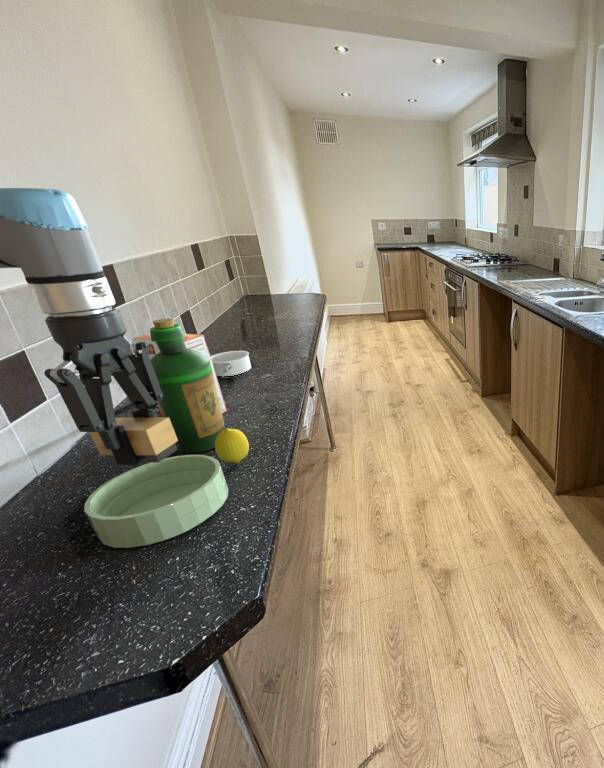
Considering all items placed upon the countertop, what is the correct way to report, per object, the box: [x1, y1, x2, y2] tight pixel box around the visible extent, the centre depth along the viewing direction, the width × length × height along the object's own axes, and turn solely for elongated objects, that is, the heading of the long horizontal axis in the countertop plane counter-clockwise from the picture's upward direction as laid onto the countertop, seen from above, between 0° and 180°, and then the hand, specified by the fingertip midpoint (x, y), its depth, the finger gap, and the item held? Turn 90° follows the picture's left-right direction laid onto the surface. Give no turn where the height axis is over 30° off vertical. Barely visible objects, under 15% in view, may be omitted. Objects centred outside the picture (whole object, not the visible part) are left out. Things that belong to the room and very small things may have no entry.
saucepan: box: [210, 350, 252, 378], centre depth 127 cm, size 12×20×6 cm, turn 29°
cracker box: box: [131, 332, 228, 417], centre depth 100 cm, size 14×6×21 cm, turn 81°
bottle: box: [149, 318, 226, 454], centre depth 85 cm, size 11×11×28 cm
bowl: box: [83, 454, 229, 549], centre depth 69 cm, size 17×17×6 cm
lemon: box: [214, 427, 250, 464], centre depth 82 cm, size 6×6×8 cm
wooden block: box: [89, 416, 178, 464], centre depth 65 cm, size 9×4×6 cm, turn 88°
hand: (142, 454), depth 66 cm, fingers closed on wooden block, 4 cm apart
